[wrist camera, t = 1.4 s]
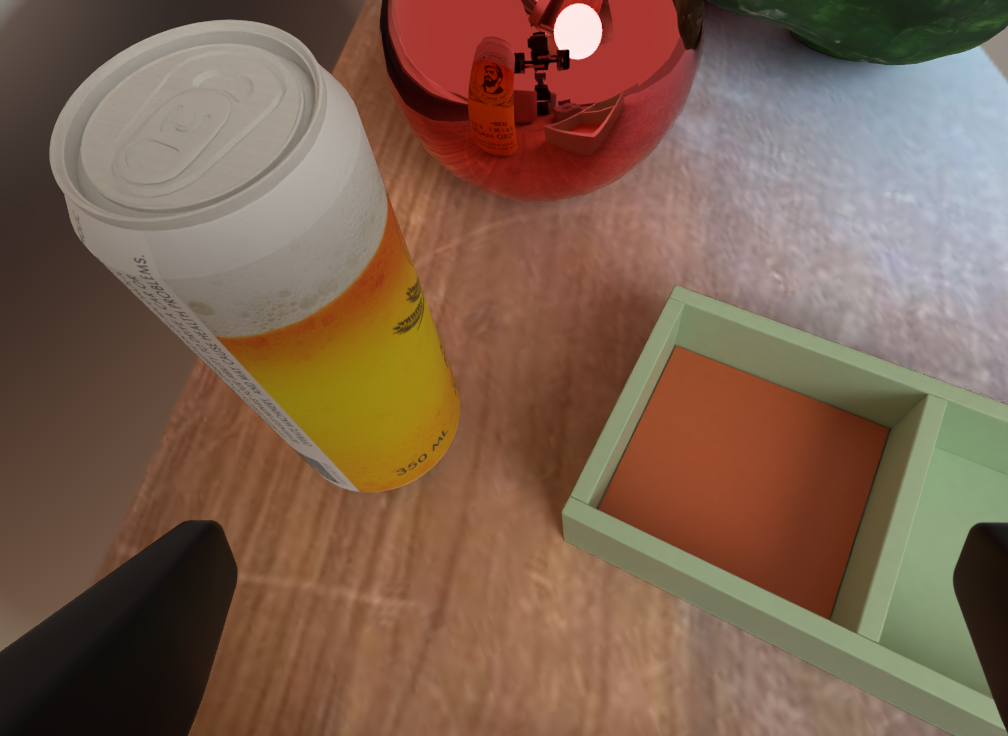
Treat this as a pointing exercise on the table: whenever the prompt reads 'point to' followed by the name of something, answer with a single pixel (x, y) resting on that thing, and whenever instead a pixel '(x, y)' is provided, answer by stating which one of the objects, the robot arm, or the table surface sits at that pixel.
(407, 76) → the ball
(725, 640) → the table surface
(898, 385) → the tray
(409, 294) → the beer can
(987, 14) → the leafy green vegetable
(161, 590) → the robot arm
